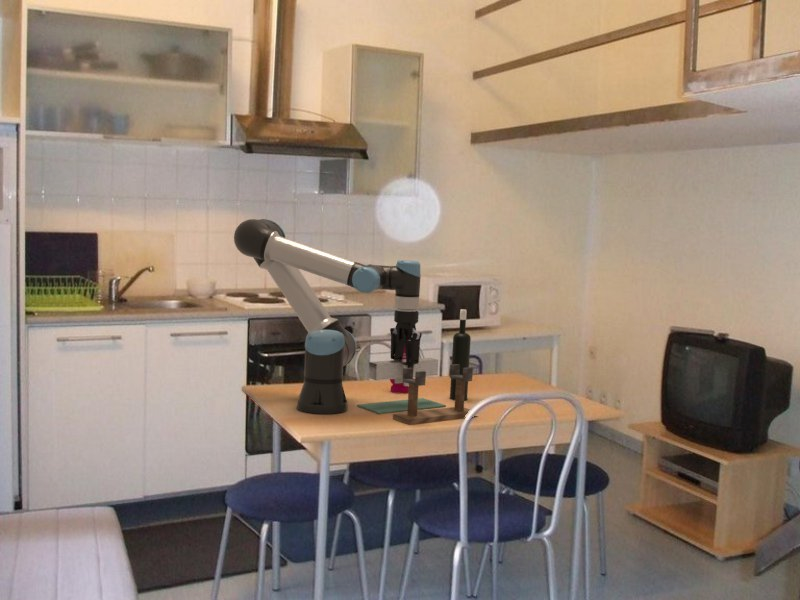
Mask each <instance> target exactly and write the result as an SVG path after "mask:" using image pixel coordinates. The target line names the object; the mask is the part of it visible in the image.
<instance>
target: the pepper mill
mask: <svg viewBox="0 0 800 600" xmlns="http://www.w3.org/2000/svg"><path fill="white" fill-rule="evenodd" d="M407 341H410V340H407ZM405 359H406V351H405V347H404V353H403V360H405ZM389 381H390V383H391V384H392V385H390V392H391V393H394V394H395V393H396V394H408V392H409V386H404V382H403V383H395V379H389Z"/></svg>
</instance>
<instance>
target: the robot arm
mask: <svg viewBox="0 0 800 600" xmlns="http://www.w3.org/2000/svg"><path fill="white" fill-rule="evenodd" d="M233 234H234V235H233V241H234V246H235V247H236V249H237V250H238V251H239V253H241V254H242V255H244V256H246V257H249V258H250V257H251V258H253V259H254V261H255V262H256V264H257V266H258V267H259V269H263V270H267V272H268V274H269V275H270V277H271V278H272V280H273V281H274V283H275V284H276V286H277V287H278V289H279V290H280V292H281V293H282V295H283V296H284V298H285V300H286V301H287V302H288V304H289V306H290V307H291V308H292V310H293V311H294V313H295V315H296V316H297V317H298V320H299V321H300V322H301V324H302V325H303V327H304V328H305V330H306V331H307V334H306V337H305V342H304V348H305V349H304V371H303V384H302V388H301V390H300V392H299V396H298V398H297V402H296V409H297V410H299V411H301V412H305V413H310V414H317V415H318V414H320V415H325V414H326V415H328V414H329V415H330V414H331V415H332V414H339V413H344V412H346V411H348V401H347V400H348V399H347V396H346V393H345V390H344V386H343V377H344V375H343V373H344V367H345V366H346V365H348V364H349V363H351V362H352V360H353V359H354V357H355V355H356V353H357V341H356V339H355V336H354V335H353V334H352V333H351V332H350V331H348V330H347V329H345V328H344V326H343V325H342V323H341V322H340V320H339V319H338V318H335V317H331V315H330V314H329V313H328V311H327V309H326V307H325V306H324V305H323V303H322V302H321V301H320V298H319V297H318V296H317V294H316V292H315V291H314V289H312V287H311V285H310V283H309V282H308V281H307V279H306V278H305V276H304V274H303V273H302V272H301V270H302V271H305V272H306V273H307V272H308V273H311V274H313V275H316V276H318V277H319V276H320V277H322V278H324V279H328V280H331V281H334V282H336V283H340V284H341V285H342V284H343V285H345V286H348V287H351V288H354V289H355V290H357V292H359V293H364V294H369V293H372V292H375V291H377V290H381V291H382V290H385V291H386V290H387V291H395V293H394V295H395V296H394V308H395V310H394V314H393V315H394V316H393V321H394V322H395V323H396V325H395V327H391V328H390V329H389V331H390V359H391V360H403V353H404V347H405V351H406V364H405V367H404V368H414V365H415V364H418V363H419V359H420V351H421V349H420V347H421V338H422V336H423V334H422V332H418V331H417V328H416V324H418V323H419V309H420V308H419V306H420V291H421V278H422V275H421V263H420V261H418V260H413V259H412V260H410V259H407V260H406V259H399V260H397V262H396V263H395V264H396V265H377V264H364V263H363V264H362V263H360V262H357V261H353V260H351V259H348V258H346V257H342V256H340V255H336V254H333V253H331V252H328V251H324V250H323V249H320V248H316V247H313V246H310V245H307V244H305V243H301V242H298V241H295V240H293V239H289V238H286V233H285V231H284V229H283V228H282V227H281V225H280V224H278V223H277V222H275V221H273V220H270V219H267V218H266V219H265V218H263V219H262V218H261V219H255V218H250V219H247V220H244V221H242V222H241V223H240V224H238V226H237V227H236V229H235V230H234V233H233ZM407 340H409V341H407ZM402 381H403V378H398V379H395V383H403V382H402ZM404 386H409V383H405V382H404Z"/></svg>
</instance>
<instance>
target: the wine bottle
mask: <svg viewBox="0 0 800 600" xmlns="http://www.w3.org/2000/svg"><path fill="white" fill-rule="evenodd" d="M466 325H467V309H466V308H465V309H462V308H461V309H460V312H459V331H458V332H455V334H454V335H453V337H452V353H451V365H454V364H459V365H460V373H459V374H460V375H463V368H469V367H470V358H471V357H470V356H471V341H472V339H471V338H472V337H471V335H470V334H469V333H466ZM449 390H450V393H449V399H450V400H452V401H455V391H456V379H453V378H450V387H449ZM468 391H469V381H467V382H465V396H464V401H468Z"/></svg>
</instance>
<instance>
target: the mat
mask: <svg viewBox="0 0 800 600" xmlns="http://www.w3.org/2000/svg"><path fill="white" fill-rule="evenodd" d="M356 407H357V408H361V409H364V410H366V411H370V412H371V413H375V414H378V415H382V414H395V413H404V412H407V411H408V399H401V400H390V401H380V402H371V403H360V404H356ZM440 408H447V405H446V404H445V403H444V404H443V403H440V402H437V401H433V400H430V399H427V398H424V397H418V404H417V411H422V410H431V409H440Z"/></svg>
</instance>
